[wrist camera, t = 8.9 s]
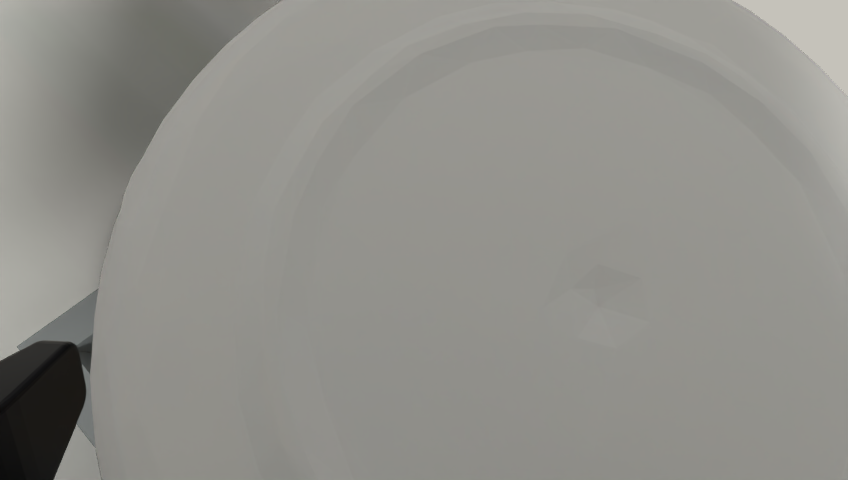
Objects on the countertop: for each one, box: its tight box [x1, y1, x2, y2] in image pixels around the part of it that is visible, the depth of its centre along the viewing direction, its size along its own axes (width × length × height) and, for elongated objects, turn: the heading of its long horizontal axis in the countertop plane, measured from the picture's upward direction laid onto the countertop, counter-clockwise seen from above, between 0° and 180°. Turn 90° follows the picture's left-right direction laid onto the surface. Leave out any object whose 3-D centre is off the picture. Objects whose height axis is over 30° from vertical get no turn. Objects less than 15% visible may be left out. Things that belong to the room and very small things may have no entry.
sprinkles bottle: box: [90, 0, 848, 480], centre depth 9 cm, size 5×5×14 cm
